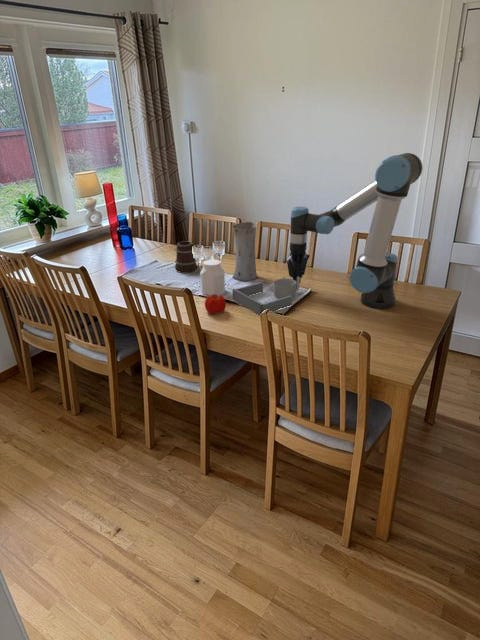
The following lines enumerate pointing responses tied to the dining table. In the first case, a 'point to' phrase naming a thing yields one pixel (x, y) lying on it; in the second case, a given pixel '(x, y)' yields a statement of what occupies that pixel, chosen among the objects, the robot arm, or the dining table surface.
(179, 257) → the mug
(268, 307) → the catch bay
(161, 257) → the dining table surface
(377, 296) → the robot arm
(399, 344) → the dining table surface
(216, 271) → the jar
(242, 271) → the vase
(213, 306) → the tomato
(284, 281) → the teacup
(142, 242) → the dining table surface
